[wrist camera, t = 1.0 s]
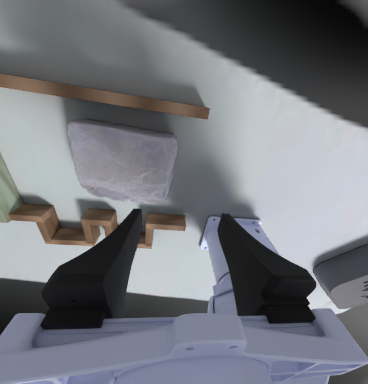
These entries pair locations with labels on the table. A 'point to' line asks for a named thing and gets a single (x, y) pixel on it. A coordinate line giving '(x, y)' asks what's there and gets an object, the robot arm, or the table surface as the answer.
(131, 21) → the table surface
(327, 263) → the streaming box
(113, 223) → the trap lane
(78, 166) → the stone block
